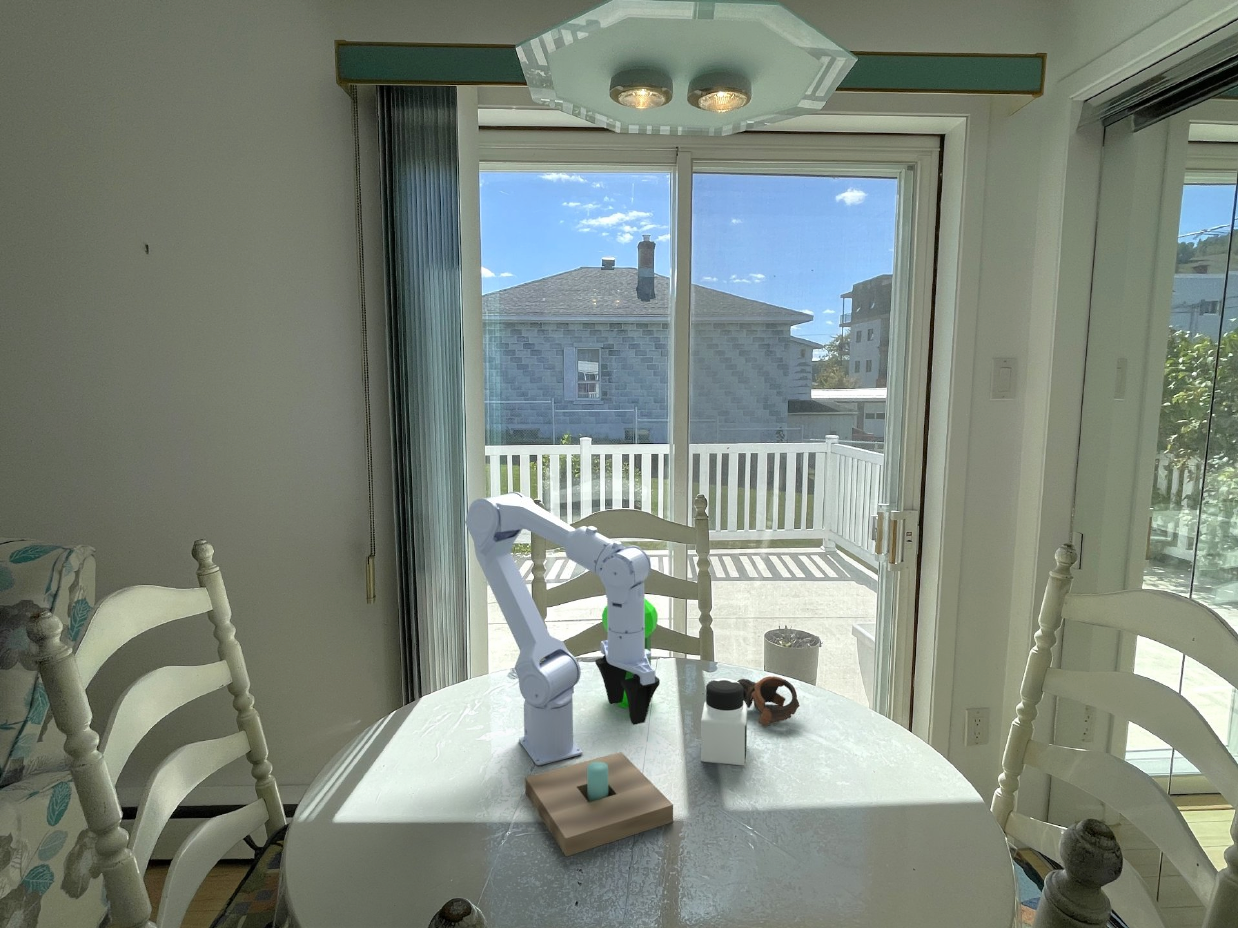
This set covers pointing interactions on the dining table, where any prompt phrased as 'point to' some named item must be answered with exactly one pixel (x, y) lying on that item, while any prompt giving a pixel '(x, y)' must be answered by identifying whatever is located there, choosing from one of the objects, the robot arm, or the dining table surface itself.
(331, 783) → the dining table surface
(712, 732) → the medicine bottle
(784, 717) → the brown jagged ring
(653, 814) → the socket board
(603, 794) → the peg
